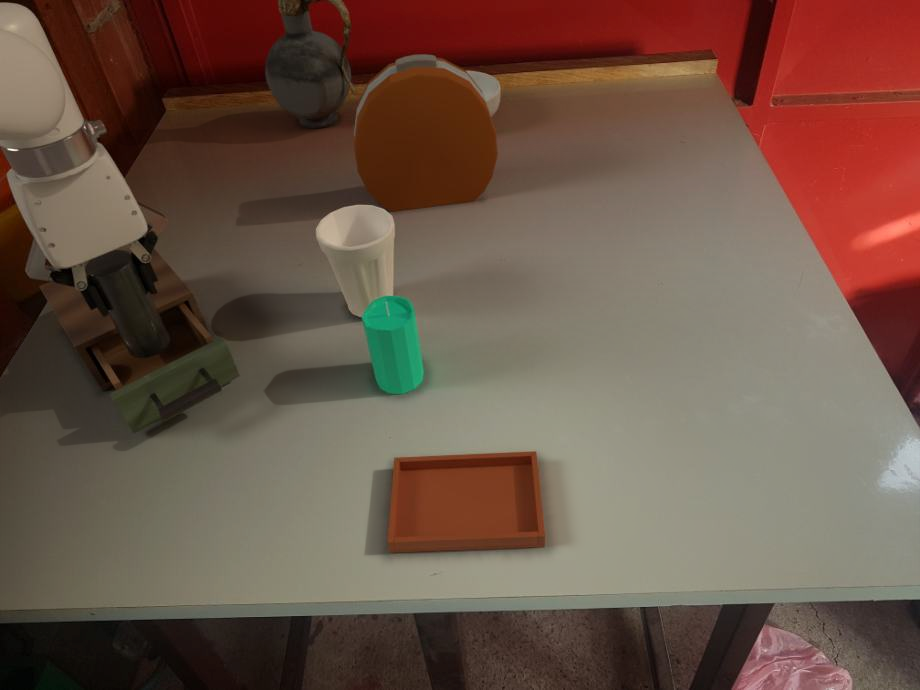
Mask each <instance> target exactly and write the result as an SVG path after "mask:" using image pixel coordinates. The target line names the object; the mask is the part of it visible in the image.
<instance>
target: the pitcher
mask: <svg viewBox="0 0 920 690" xmlns="http://www.w3.org/2000/svg"><path fill="white" fill-rule="evenodd" d="M320 1H322V0H277V4H278V5H277V6H278V11H279V13H280V14H281V18H282V23H283V28H284V32H285V34H284V35H282V36H281V37H279V38H278V39H277V40H276V41H275V42H274V43H273V45H272V46H271V48H270V49H269V51H268V54H267V57H266V60H265V66H264V67H265V69H264V74H265V80H266V83H267V87H268V88H269V91H270V92H271V94H272V96H273V98H274V100H275V102H276V103H277V104H278V105H279V106H280V107H281V108H282V109H283V110H285V112H288V113H290V115H293V116H295V117H297V118H298V123H299V124H300V125H301V126H302V127H304V128H308V129H323V128H327V127H330V126H332V125H333V124H336V122H337V121H338V119H339V117H338V113H337V112H336V111H338V110H339V109H340V108H341V107H342V105H343V104H344V103H345V101H346V99H347V97H348V95H349V92H350V91H351V92H352V93H353V94H354V95H355V96H358V93H357V89H356V88H355V87H354V85H355V84H354V83H353V82H352V73H351V70H352V69H351V66H350V63H349V60H348V58H347V56H346V53H347V50H348V46H349V42H350V35H351V27H352V23H351V19H350V18H351V17H350V12H349V10H348V8H347V6H346V5H345V2H344V1H343V0H323V2H328V3H330V4H332V5H333V6H334V7H335V8H336V9H337V10H338V12H339V14H340V16H341V18H342V19H341V20H342V23H343V30H342V31H343V42H342V46H341V45H340V44H339V42H337V41H336V40H335V39H333V38H332V37H331V36H329V35H327V34H325V33H323V32H321V31H316V30H313V26H312V21H311V16H310V10H311V6H310V4H312V3H318V2H320Z"/></svg>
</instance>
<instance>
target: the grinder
mask: <svg viewBox="0 0 920 690" xmlns="http://www.w3.org/2000/svg"><path fill="white" fill-rule="evenodd" d="M124 250H125V249H116V250H113V251H111V252H109V253H106V254H104V255H101V256H99V257H96V258H94V259H91V260H89V261H87V263H86V264H85V271H86V273H87V275H88V277H89V279H90V281H91V282H92V283H93V285H94V286H95V288H96V289H97V291H98V293H99V295H100V297H101V299H102V301H103V303H104V304H105V306H106V308H107V310H108V312H109V313H108V314H109V316H110V318H111V320H112V322H113V323H114V325H115V327H116V329H117V331H118V333H119V335H120V336H121V338H122V340H123V342H124V344H125V346H126V348H127V349H128V351H129V353H130V354H131V355H132V356H133V357H136V358H148V357H152V356H155V355H157V354H159V353H160V352H162V351H163V350H164V349H165V348H166V347H167V346H168V345H169V342H170V336H169V334H168V332H167V330H166V328H165V325H164V323H163V321H162V319H161V317H160V315H159V313H158V311H157V309H156V306H155V304H154V302H153V300H152V298H151V296H150V294H149V292H148V290H147V287H146V285H145V283H144V281H143V279H142V277H141V275H140V273H139V271H138V268H137V266H136V264H135V262H134V260H133V258H132V256H131V254H130V253H129V252H127V251H124Z"/></svg>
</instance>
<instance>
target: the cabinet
mask: <svg viewBox="0 0 920 690" xmlns="http://www.w3.org/2000/svg"><path fill="white" fill-rule="evenodd" d="M123 250H124V251H127V252H129V253H130V254H131V253H132V251H131V250H130V249H129V248H128V247H127V248H126V249H123ZM150 263H151V265H152V268H153V270H154V272H155V274H156V276H157V279H158V281H156V282H154V285H155V288H156V290H157V292H158V293H156V294H154V295H153V294H150V293H149V294H150V296H151V298H152V300H153V302H154V304H155V306H156V309H157V311H158V313H161V312H164V311H166V310H168V309H170V308H172V307H174V306H176V305H178V304H180V303H184V304H185V305H186V306H187V307H188V309H189V310H190V311H191V312H192V313H193V315H194V316H195V317H196V318H197V319H198V321H199V322H200V323H201V324H202V325H203V327H204V328H205V329H206V330H207V331H208V333H209V334H210V335H211V333H210V330H209V328H208V325H207V324H206V321H205V319H204V316H203V314H202V312H201V310H200V308H199V307H200V306H199V305H198V303H197V300H196V298H195V296H194V294H193V291H191V289H190V288H189V287H188V286H187V285H186V284H185V282H184V281H183V280H182V279H181V278H180V277H179V275H178V274H177V273H176V272H175V271H174V269H173V268H172V267H171V266H170V265H169V264H168V262H167V261H166V260H165V259H164V258H163V257H162V255H160V253H159V252H158V251H157V250H156V249H155V248H154V249H153V251H152V253H151V261H150ZM85 272H86V271H85ZM86 276H88V275H87V273H86ZM38 287H39V289H40V291H41V293H42V294H43V296H44V297H45V300H46V302H47V303H48V304H49V306H50V308H51V309H52V311H53V313H54V314H55V316H56V318H57V320H58V321H59V323H60V325H61V327H62V328H63V330H64V332H65V334H66V335H67V337H68V339H69V340H70V342H71V343H72V345H73V347H74V349H75V350H76V352H77V353H78V355H79V357H80V358H81V360H82V361H83V363H84V364H85V367H87V369H88V371H89V373H90V374H91V376H92V378H93V379H94V380H95V382H96V383H97V385H98V387H99V389H100V390H101V391H102V392H104V391H106V390H108V389H110V388H113V387H114V386H113V384H112V383H111V381H110V380H109V378H108V376H107V375H106V373H105V371H104V370H103V368H102V367H101V365H100V363H99V362H98V360H97V358H96V357H95V355H94V353H93V352H92V350H91V348H90V346H92V345H94V344H96V343H98V342H100V341H102V340H104V339H106V338H109V337H111V336H113V335H115V334H117V333H118V331H117V329H116V327H115V325H114V323H113V322H112V320H111V318H110V316H109V314H108V315H107V316H105V317H103V316H102V314H101V313H100V311H99V310H98V308H95V309H93V310H91V309H90V308H89V306H88V305H87V303H86V301H85V299H84V298H83V296H82V294H81V292H80V290H77V289H76V288H75V287H71V286H67V285H63V284H59V283H55V282H54V281H47V282H45V283H44V284H41V285H39V286H38ZM148 292H149V291H148Z"/></svg>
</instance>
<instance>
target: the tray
mask: <svg viewBox="0 0 920 690" xmlns="http://www.w3.org/2000/svg"><path fill="white" fill-rule="evenodd" d="M542 501H543V500H542V492H541V483H540V473H539V464H538V453H537V450H535V451H534V450H533V451H510V452H490V453H489V452H488V453H487V452H486V453H468V454H467V453H465V454H447V455H446V454H445V455H424V456H423V455H422V456H421V455H420V456H401V457H393V468H392V481H391V493H390V504H389V516H388V517H389V518H388V531H387V541H386V542H387V546H388V550H389V553H390V554H393V553H416V552H417V553H418V552H444V551H445V552H446V551H469V550H470V551H471V550H495V549H520V548H545V547H546V529H545V521H544V512H543V511H544V510H543V503H542Z"/></svg>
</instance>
